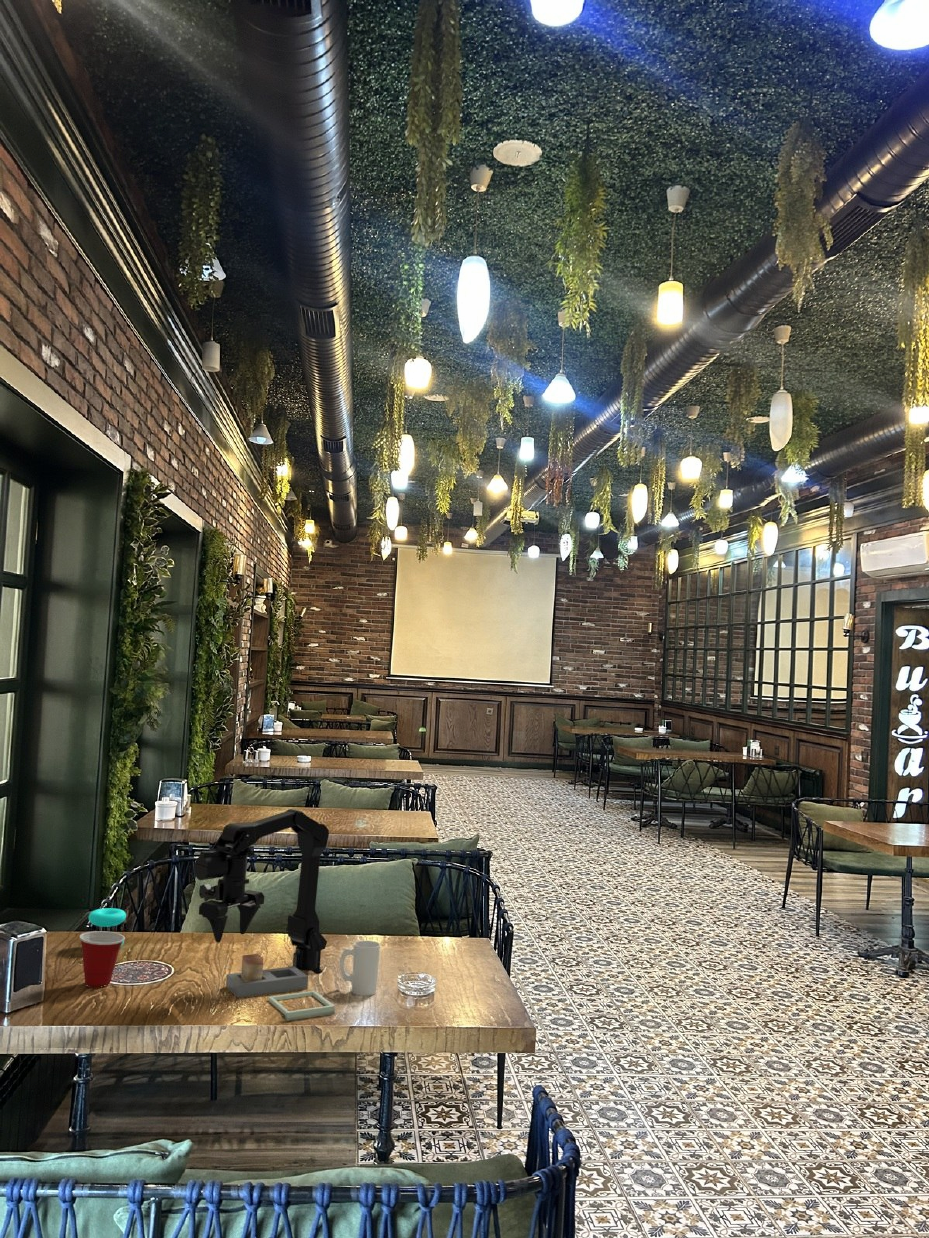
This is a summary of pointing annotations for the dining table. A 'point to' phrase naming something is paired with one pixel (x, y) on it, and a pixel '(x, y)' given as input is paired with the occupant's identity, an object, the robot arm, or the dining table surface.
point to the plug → (252, 967)
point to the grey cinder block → (268, 982)
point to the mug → (362, 967)
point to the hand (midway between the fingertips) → (230, 937)
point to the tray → (304, 1012)
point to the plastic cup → (100, 956)
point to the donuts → (107, 917)
